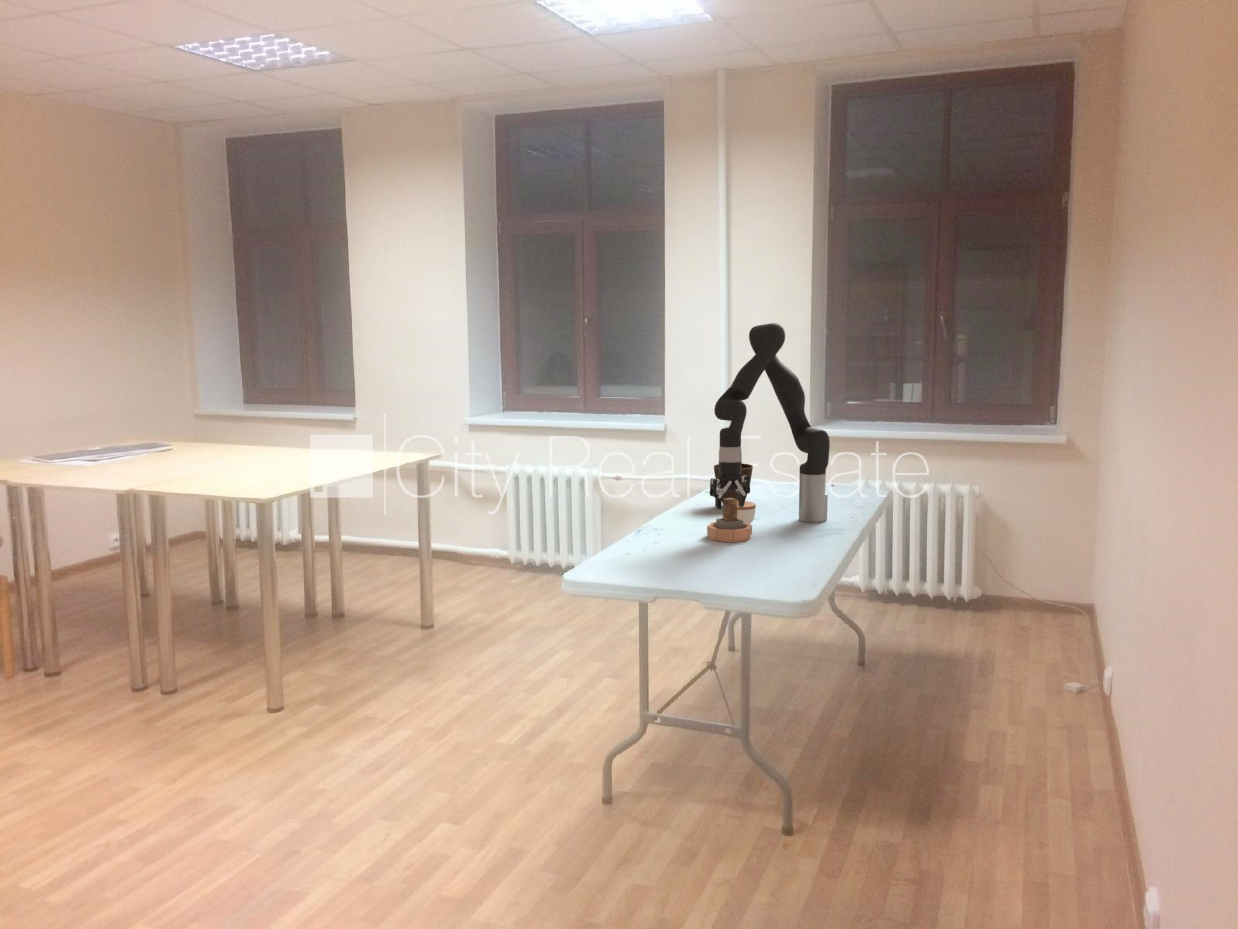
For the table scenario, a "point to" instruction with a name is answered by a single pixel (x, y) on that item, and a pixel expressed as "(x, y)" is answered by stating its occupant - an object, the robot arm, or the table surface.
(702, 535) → the table surface
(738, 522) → the candle pot
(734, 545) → the table surface
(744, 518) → the lidded jar
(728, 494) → the plant pot
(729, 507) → the brown long rectangular block
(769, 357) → the robot arm
